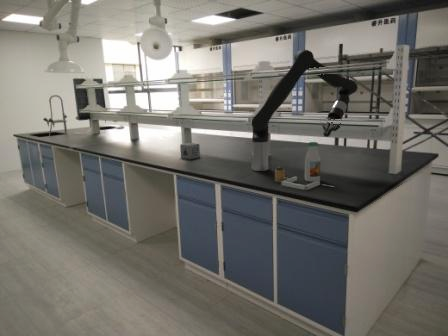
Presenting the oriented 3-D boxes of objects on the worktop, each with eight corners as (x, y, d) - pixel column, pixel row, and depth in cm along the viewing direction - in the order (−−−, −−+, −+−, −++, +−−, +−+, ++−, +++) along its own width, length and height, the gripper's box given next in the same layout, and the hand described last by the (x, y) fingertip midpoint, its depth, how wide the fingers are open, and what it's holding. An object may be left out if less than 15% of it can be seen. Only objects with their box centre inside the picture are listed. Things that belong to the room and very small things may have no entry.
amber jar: (273, 181, 174) (273, 167, 172) (278, 179, 177) (278, 165, 176) (281, 183, 170) (281, 168, 169) (286, 181, 174) (286, 167, 172)
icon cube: (190, 155, 254) (189, 142, 252) (200, 156, 248) (199, 143, 246) (181, 157, 247) (180, 144, 245) (190, 159, 241) (189, 145, 238)
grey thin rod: (284, 177, 180) (284, 177, 180) (284, 177, 181) (284, 177, 181) (333, 187, 160) (333, 186, 160) (334, 186, 161) (334, 186, 161)
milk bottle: (303, 181, 172) (304, 143, 167) (305, 178, 179) (306, 141, 174) (319, 182, 169) (320, 143, 164) (320, 178, 176) (321, 141, 171)
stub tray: (281, 185, 167) (281, 181, 166) (295, 180, 175) (295, 176, 175) (306, 190, 157) (306, 186, 156) (319, 184, 165) (320, 180, 165)
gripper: (324, 106, 185) (312, 130, 180) (347, 106, 176) (335, 132, 171) (328, 115, 190) (316, 139, 185) (351, 115, 181) (339, 141, 175)
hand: (325, 135), depth 178 cm, fingers closed
